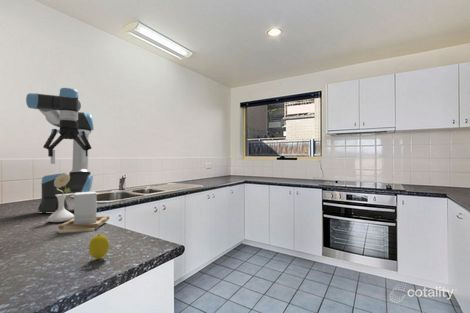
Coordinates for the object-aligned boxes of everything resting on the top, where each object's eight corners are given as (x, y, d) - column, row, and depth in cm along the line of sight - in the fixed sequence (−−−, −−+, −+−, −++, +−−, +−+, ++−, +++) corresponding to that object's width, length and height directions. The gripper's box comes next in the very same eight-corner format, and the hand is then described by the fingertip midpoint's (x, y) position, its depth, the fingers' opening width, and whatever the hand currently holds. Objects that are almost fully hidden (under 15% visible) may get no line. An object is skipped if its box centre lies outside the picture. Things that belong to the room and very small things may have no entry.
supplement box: (96, 220, 121) (96, 191, 121) (96, 224, 113) (96, 193, 114) (74, 223, 116) (75, 192, 117) (73, 227, 109) (73, 194, 109)
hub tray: (77, 221, 123) (77, 216, 123) (110, 219, 126) (110, 215, 126) (55, 232, 104) (55, 227, 104) (95, 230, 107) (95, 225, 107)
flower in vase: (42, 222, 122) (43, 173, 122) (67, 217, 132) (67, 172, 132) (56, 225, 116) (56, 174, 116) (80, 220, 126) (80, 172, 126)
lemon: (94, 256, 78) (94, 231, 78) (111, 255, 79) (111, 231, 79) (85, 263, 73) (85, 237, 73) (104, 262, 73) (104, 236, 73)
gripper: (41, 116, 105) (41, 164, 105) (98, 122, 126) (98, 162, 126) (34, 117, 109) (34, 163, 109) (91, 123, 130) (91, 162, 130)
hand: (68, 163), depth 118 cm, fingers open, 13 cm apart
